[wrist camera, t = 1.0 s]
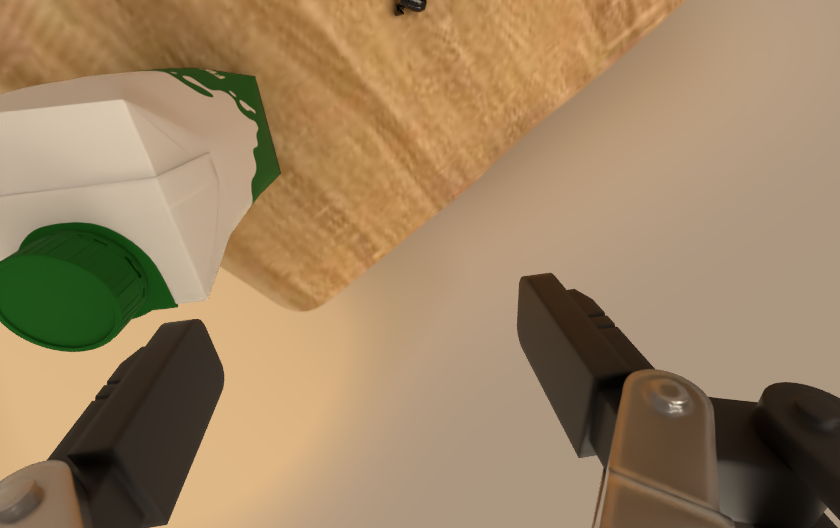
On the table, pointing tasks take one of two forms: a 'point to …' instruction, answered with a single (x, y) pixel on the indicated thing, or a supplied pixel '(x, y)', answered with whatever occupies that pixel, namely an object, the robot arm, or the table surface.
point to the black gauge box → (409, 6)
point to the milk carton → (122, 196)
